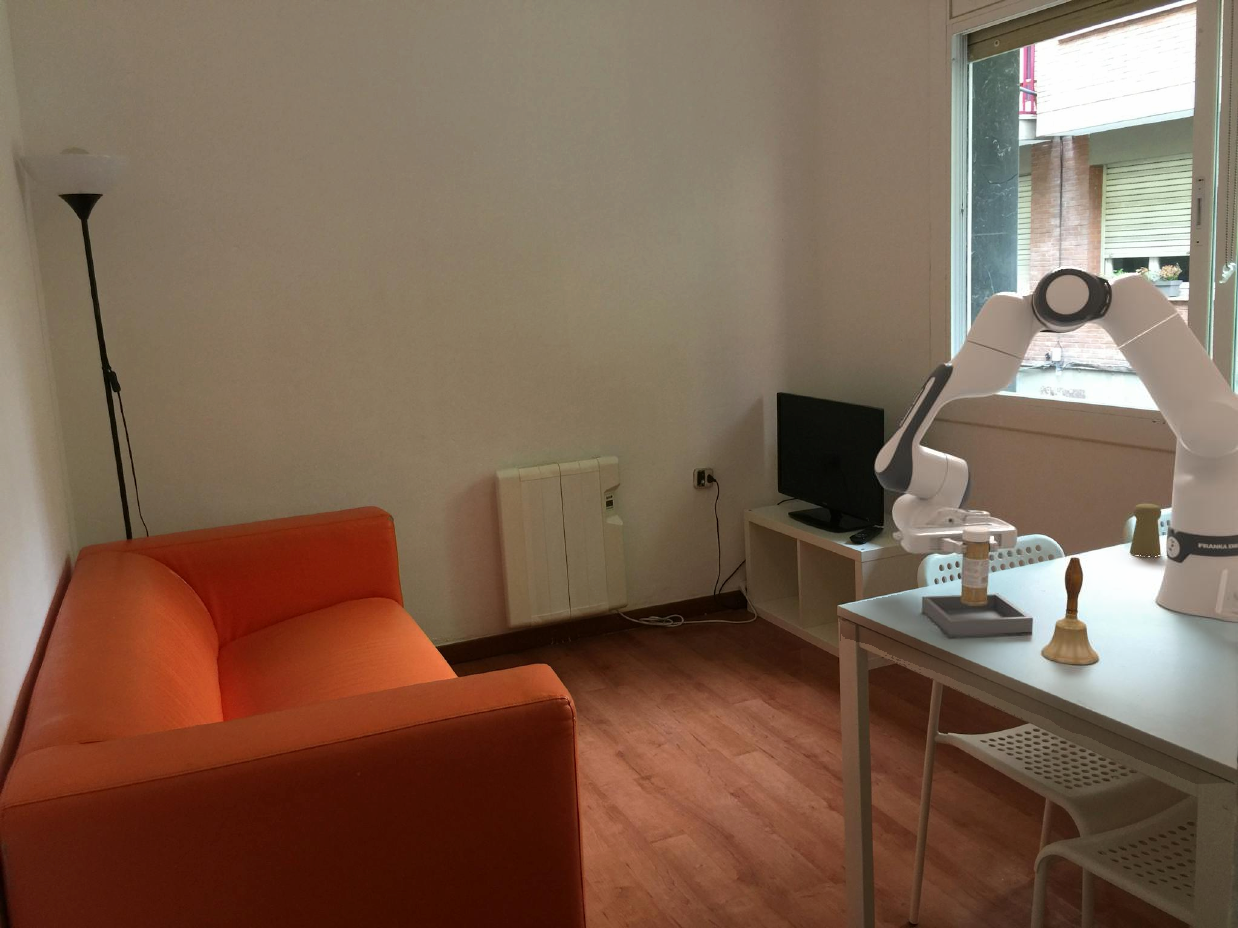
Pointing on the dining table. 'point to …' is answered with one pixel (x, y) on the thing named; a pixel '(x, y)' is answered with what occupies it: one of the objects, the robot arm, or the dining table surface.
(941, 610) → the box
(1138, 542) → the cork
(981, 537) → the sprinkles bottle
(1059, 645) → the hand bell
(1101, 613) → the dining table surface
